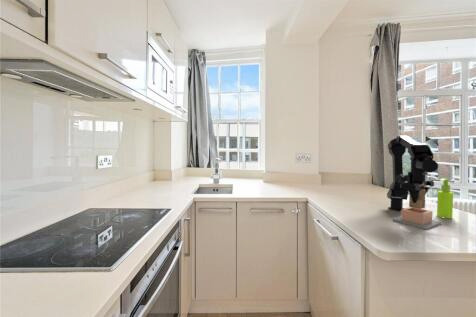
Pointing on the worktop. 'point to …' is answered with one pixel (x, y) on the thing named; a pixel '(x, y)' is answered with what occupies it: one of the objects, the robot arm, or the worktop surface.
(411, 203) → the walnut block
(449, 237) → the worktop surface
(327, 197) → the worktop surface
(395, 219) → the terracotta well
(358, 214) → the worktop surface
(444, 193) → the soap dispenser
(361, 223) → the worktop surface
